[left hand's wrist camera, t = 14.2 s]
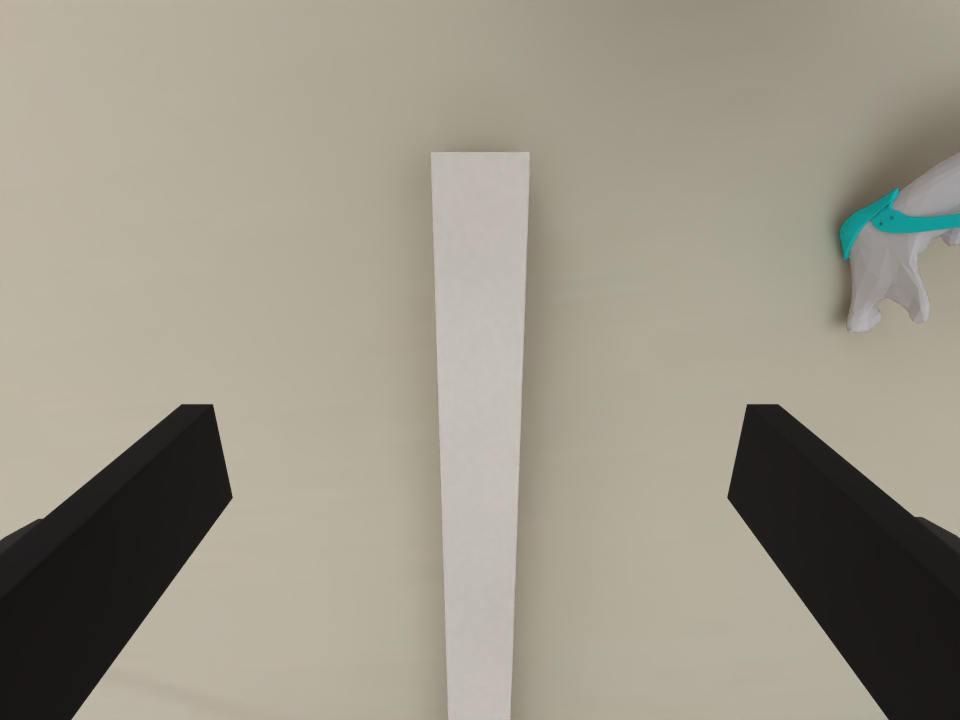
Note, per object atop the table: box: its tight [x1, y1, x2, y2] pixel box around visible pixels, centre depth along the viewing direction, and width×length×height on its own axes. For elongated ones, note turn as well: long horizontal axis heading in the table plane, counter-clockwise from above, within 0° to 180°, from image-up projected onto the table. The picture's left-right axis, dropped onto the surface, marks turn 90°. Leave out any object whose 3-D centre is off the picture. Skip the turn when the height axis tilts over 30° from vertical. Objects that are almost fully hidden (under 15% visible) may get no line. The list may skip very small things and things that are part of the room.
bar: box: [430, 152, 531, 720], centre depth 40 cm, size 71×5×8 cm, turn 0°
